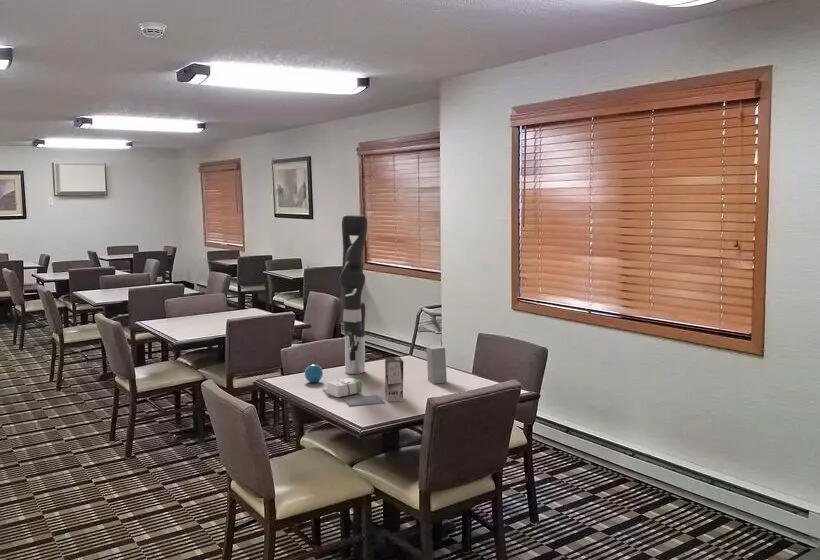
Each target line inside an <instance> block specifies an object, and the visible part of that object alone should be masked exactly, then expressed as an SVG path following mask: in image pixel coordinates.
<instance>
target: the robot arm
mask: <svg viewBox="0 0 820 560" xmlns="http://www.w3.org/2000/svg"><path fill="white" fill-rule="evenodd" d="M367 232H368V218H367V216H366V215H363V214H344V215H343V216H342V219H341V235H342V270H341V273H340V274H339V279H338V282H339V285H340V287H341V288H342V301H341V317H342V319H341V320H342V321H343V323H342V325H343V331H344V369H345V370H344V372H345V374H350V375H358V374H359V375H360V373H361V374H364V373H365V372H366V368H365V367H366V360H365V359H366V352H365V351H366V346H365V345H366V341H365V339H366V338H365V337H366V332H365V331H366V329H365V325H366V322H365V321H366V305H365V302H364V301H362V293H363V289H364V286H365V283H366V276H365V274H364V264H363V263H364V262H363V251H364V247H365V244H366V238H367ZM350 236H355V237H357V238H356V239H355V240H354V242H352V240H351V237H350ZM355 289H356V290H355ZM363 372H364V373H363Z"/></svg>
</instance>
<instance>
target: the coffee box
mask: <svg viewBox="0 0 820 560" xmlns="http://www.w3.org/2000/svg"><path fill="white" fill-rule="evenodd" d="M384 375H385V376H384V377H385V378H384V381H385V382H384V384H385V385H384V389H385V390H384V394H385V395H384V396H385V398H386V400H387V402H404V361H403V359H402V358H401V357H400V356H392V357H385V358H384Z"/></svg>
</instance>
